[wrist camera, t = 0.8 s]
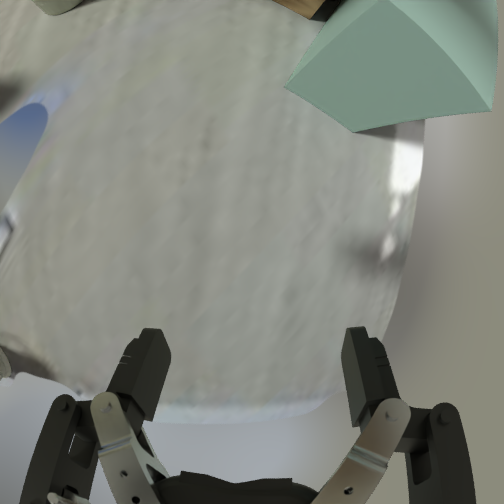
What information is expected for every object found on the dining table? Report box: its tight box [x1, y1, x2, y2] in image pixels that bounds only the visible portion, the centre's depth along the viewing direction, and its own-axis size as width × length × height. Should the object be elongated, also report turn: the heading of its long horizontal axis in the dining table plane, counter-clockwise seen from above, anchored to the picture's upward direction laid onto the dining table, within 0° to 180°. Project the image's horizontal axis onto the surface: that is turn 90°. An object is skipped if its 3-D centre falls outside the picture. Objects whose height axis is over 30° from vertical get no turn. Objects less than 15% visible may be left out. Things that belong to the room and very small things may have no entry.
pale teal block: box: [284, 0, 498, 132], centre depth 17 cm, size 10×22×20 cm, turn 152°
